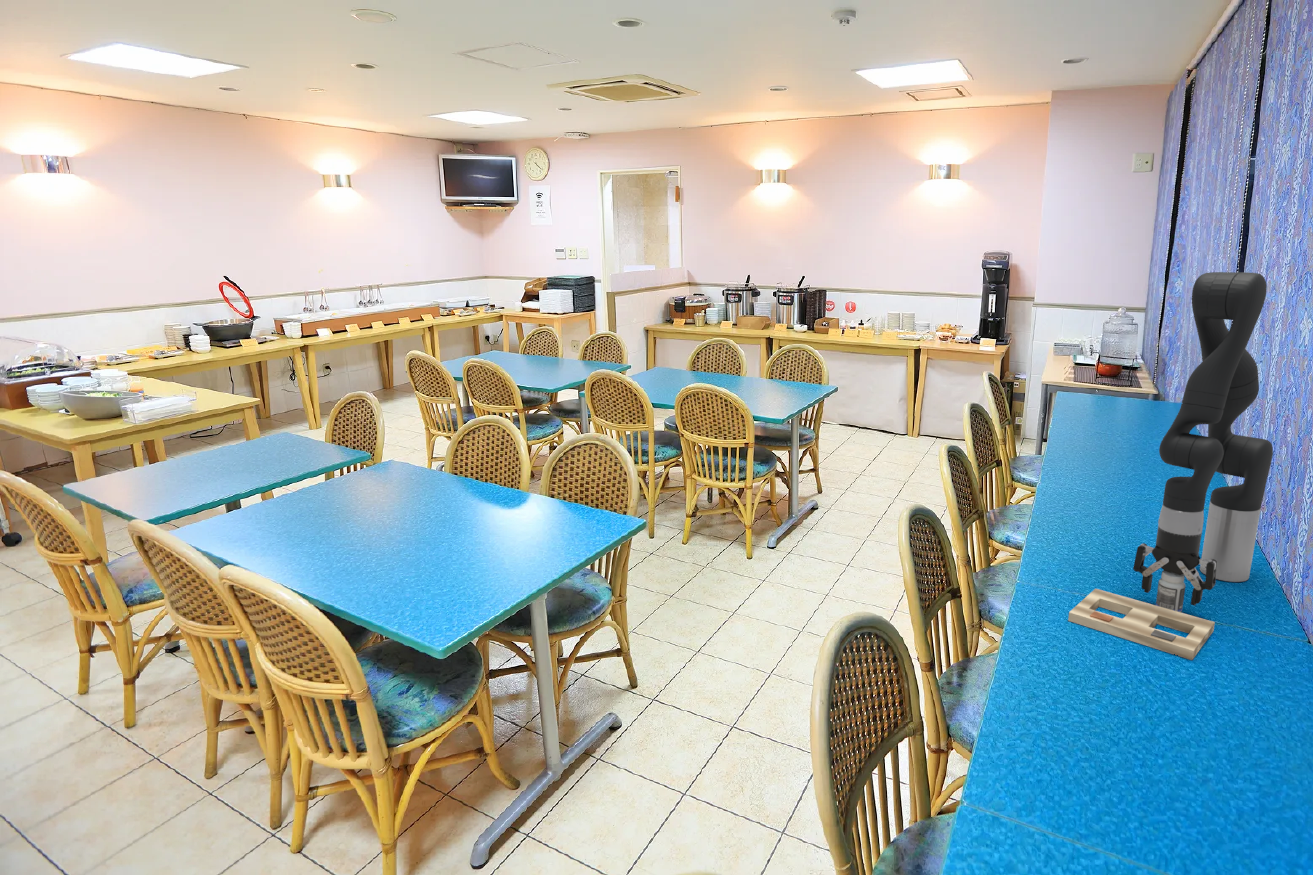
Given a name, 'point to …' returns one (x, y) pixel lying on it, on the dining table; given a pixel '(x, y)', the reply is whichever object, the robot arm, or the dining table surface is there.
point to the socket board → (1143, 623)
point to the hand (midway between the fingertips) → (1170, 597)
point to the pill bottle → (1171, 591)
